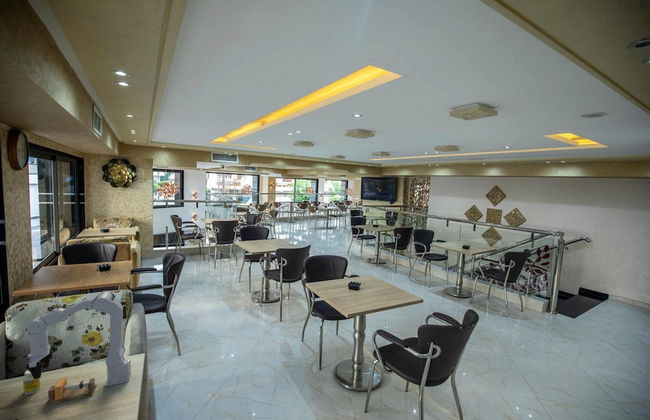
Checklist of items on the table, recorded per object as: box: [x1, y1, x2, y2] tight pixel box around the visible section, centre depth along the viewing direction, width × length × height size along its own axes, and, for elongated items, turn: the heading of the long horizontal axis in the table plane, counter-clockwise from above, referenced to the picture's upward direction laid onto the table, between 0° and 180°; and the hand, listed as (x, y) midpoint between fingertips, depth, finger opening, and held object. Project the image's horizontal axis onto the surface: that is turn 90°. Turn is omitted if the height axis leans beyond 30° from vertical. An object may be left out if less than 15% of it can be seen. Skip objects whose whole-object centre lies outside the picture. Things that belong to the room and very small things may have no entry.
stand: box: [45, 377, 97, 406], centre depth 135 cm, size 16×7×5 cm, turn 114°
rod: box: [54, 379, 94, 393], centre depth 135 cm, size 16×2×2 cm, turn 114°
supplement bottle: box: [22, 369, 41, 395], centre depth 137 cm, size 5×5×10 cm
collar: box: [54, 377, 68, 400], centre depth 134 cm, size 2×6×6 cm, turn 24°
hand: (41, 372), depth 135 cm, fingers open, 7 cm apart
